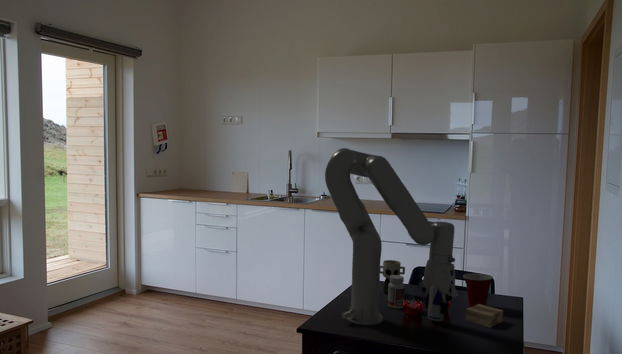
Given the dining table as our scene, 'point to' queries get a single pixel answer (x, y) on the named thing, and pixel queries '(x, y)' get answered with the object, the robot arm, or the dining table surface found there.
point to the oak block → (484, 315)
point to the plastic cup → (477, 288)
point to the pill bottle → (396, 291)
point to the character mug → (390, 271)
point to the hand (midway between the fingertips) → (436, 309)
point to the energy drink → (435, 304)
